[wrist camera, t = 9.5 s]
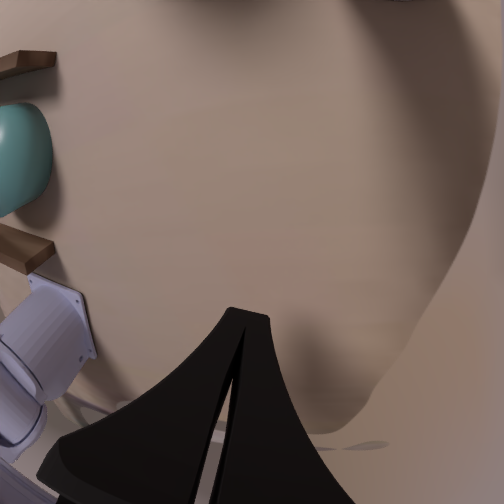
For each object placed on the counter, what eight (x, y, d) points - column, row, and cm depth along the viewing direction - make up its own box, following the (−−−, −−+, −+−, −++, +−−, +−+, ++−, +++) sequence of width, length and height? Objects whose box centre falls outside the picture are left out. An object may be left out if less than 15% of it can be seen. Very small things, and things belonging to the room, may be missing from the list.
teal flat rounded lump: (61, 197, 19) (27, 216, 15) (7, 203, 20) (-21, 218, 17) (49, 89, 15) (12, 93, 11) (-5, 116, 16) (-35, 124, 13)
